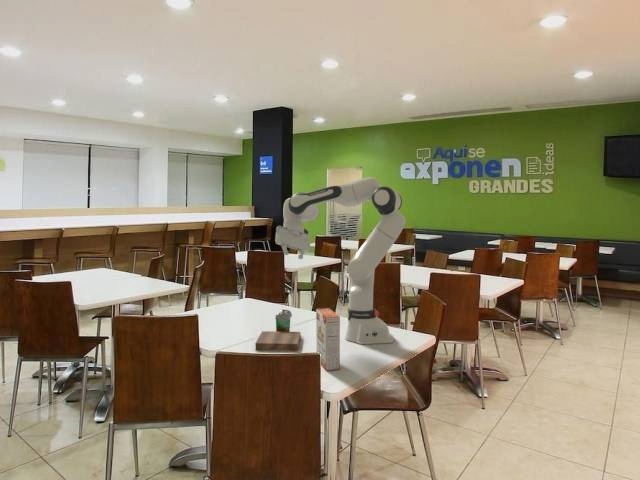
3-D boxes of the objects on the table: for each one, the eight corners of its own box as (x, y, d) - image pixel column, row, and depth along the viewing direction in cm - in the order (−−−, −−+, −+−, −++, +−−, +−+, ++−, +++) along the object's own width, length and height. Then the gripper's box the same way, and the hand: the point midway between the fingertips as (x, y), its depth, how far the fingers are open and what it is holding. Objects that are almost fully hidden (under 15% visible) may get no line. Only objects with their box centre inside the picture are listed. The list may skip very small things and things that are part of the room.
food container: (287, 336, 219) (288, 315, 218) (275, 335, 220) (275, 315, 219) (294, 329, 231) (294, 309, 230) (282, 328, 232) (282, 309, 231)
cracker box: (315, 359, 188) (315, 308, 186) (329, 357, 189) (330, 307, 188) (324, 371, 174) (325, 316, 173) (340, 370, 176) (340, 315, 174)
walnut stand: (300, 338, 216) (300, 331, 216) (297, 350, 198) (297, 343, 198) (261, 337, 217) (261, 331, 216) (255, 350, 199) (255, 343, 198)
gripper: (280, 222, 216) (281, 250, 211) (311, 232, 230) (313, 259, 225) (272, 226, 220) (272, 253, 215) (302, 236, 234) (304, 262, 229)
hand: (293, 256), depth 220 cm, fingers open, 8 cm apart
